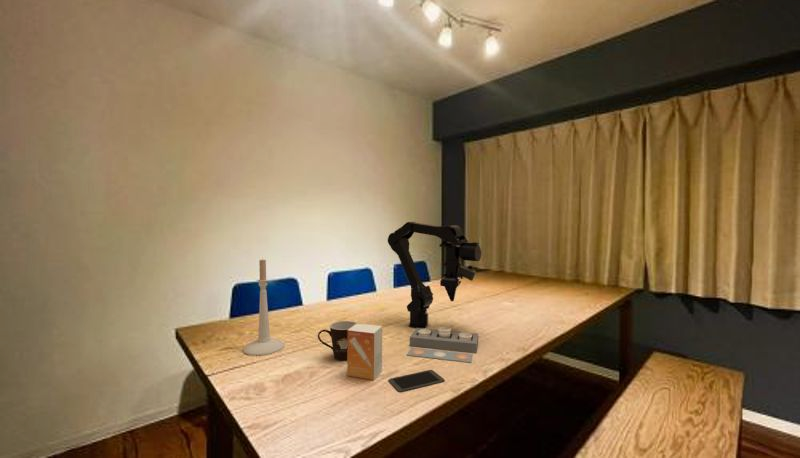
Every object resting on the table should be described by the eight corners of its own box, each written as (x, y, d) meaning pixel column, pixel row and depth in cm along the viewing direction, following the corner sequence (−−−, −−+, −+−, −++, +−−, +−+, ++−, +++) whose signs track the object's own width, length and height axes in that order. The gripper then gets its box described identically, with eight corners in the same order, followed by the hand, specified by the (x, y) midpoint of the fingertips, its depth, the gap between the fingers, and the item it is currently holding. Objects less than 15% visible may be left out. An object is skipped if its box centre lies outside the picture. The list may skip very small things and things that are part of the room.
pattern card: (406, 355, 110) (406, 354, 110) (411, 348, 116) (411, 347, 116) (471, 362, 104) (471, 361, 104) (472, 355, 110) (472, 353, 110)
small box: (347, 376, 96) (346, 329, 95) (356, 366, 102) (356, 322, 101) (374, 380, 93) (374, 332, 93) (382, 370, 100) (382, 325, 99)
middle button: (437, 339, 118) (437, 330, 118) (439, 335, 122) (439, 326, 122) (450, 341, 117) (450, 331, 117) (451, 336, 121) (451, 327, 121)
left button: (416, 341, 120) (416, 332, 120) (419, 337, 124) (419, 328, 124) (429, 343, 119) (429, 333, 119) (431, 338, 123) (431, 329, 123)
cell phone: (446, 382, 93) (446, 380, 93) (398, 394, 87) (398, 391, 87) (432, 371, 100) (432, 369, 100) (387, 381, 94) (387, 379, 94)
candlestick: (236, 348, 116) (234, 258, 114) (273, 338, 125) (271, 255, 124) (253, 359, 107) (251, 262, 106) (291, 347, 116) (290, 258, 115)
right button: (457, 346, 116) (457, 336, 116) (459, 341, 120) (459, 331, 120) (471, 347, 115) (471, 337, 115) (472, 342, 119) (472, 333, 119)
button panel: (409, 345, 118) (409, 337, 118) (416, 335, 128) (416, 327, 127) (476, 353, 112) (476, 343, 112) (478, 341, 121) (478, 333, 121)
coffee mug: (362, 353, 112) (362, 322, 111) (350, 364, 104) (350, 331, 103) (330, 348, 116) (330, 318, 115) (316, 359, 107) (315, 326, 107)
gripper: (472, 263, 119) (472, 309, 119) (476, 257, 136) (475, 296, 137) (440, 262, 122) (439, 306, 122) (447, 256, 139) (447, 294, 140)
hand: (452, 300), depth 130 cm, fingers closed
